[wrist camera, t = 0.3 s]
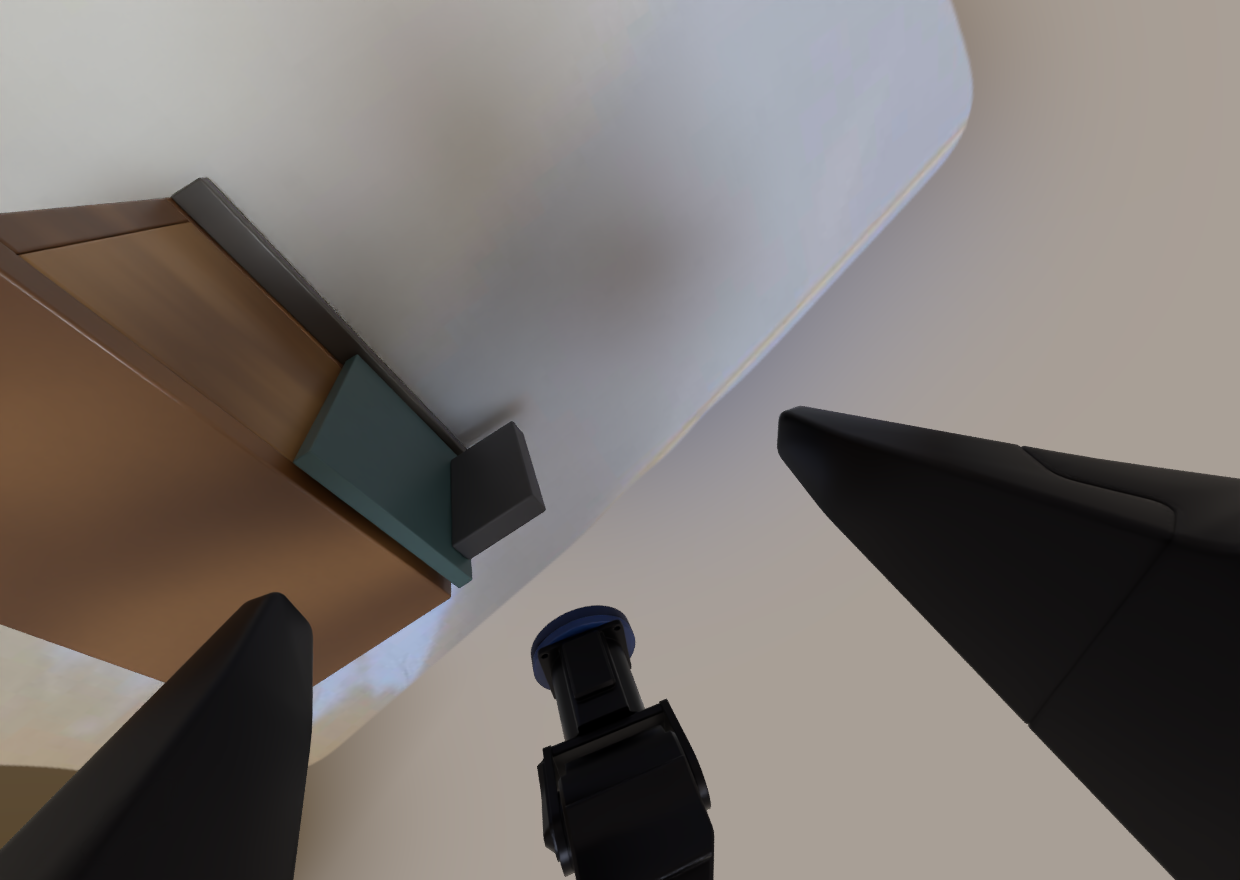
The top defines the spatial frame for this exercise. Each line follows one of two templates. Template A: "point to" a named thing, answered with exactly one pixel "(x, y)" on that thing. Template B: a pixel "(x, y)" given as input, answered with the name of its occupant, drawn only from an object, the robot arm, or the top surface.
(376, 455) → the sliding door
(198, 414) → the cupboard
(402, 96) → the top surface
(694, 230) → the top surface
